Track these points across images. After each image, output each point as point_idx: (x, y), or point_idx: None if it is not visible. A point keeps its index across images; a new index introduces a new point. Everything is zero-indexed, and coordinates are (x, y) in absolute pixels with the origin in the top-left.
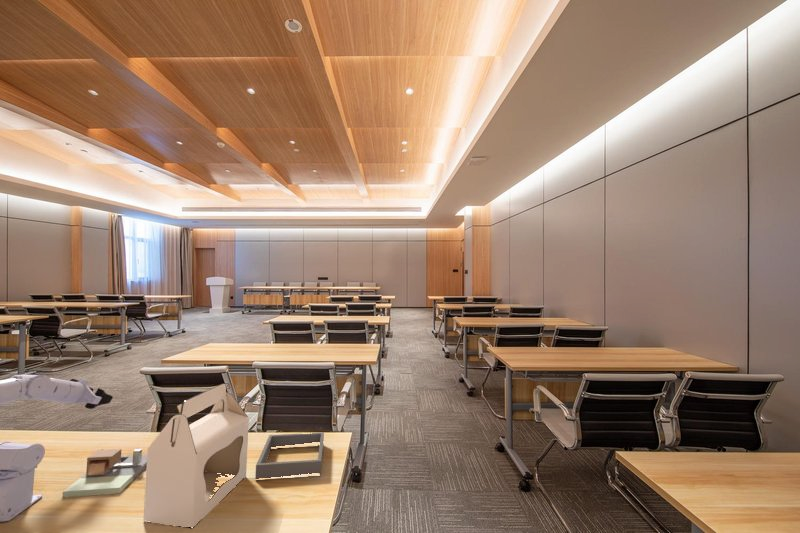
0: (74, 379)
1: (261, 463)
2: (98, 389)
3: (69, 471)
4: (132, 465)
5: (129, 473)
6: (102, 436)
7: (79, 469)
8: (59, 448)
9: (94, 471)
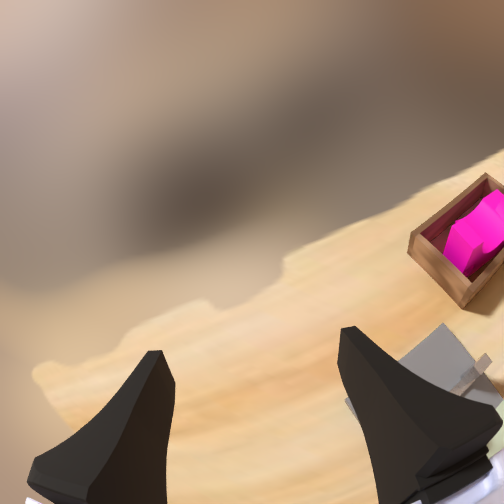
0: (48, 488)
1: None
2: (459, 451)
3: (303, 473)
4: (468, 386)
5: (491, 403)
6: (179, 326)
7: (317, 457)
8: None
9: None
